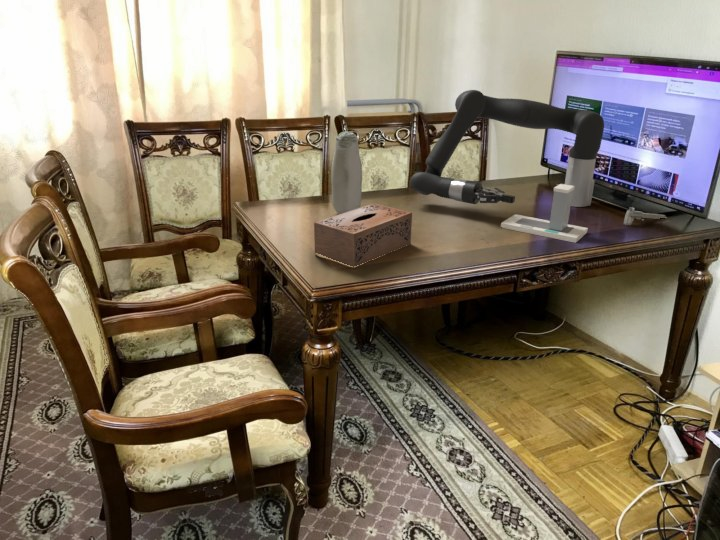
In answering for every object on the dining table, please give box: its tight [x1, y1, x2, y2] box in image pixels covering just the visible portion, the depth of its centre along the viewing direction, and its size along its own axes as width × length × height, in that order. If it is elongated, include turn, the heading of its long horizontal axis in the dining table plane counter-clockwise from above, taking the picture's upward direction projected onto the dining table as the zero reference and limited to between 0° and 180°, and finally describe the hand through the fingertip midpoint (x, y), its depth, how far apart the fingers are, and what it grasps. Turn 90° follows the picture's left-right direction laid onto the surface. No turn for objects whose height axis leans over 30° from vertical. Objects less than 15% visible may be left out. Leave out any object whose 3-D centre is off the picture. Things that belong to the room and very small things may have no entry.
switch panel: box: [500, 213, 589, 244], centre depth 187 cm, size 24×12×2 cm, turn 55°
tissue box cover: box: [313, 202, 413, 267], centre depth 167 cm, size 26×14×10 cm, turn 139°
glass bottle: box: [330, 130, 363, 215], centre depth 194 cm, size 10×10×28 cm
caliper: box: [623, 206, 668, 226], centre depth 196 cm, size 20×1×6 cm, turn 117°
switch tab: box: [549, 183, 575, 231], centre depth 182 cm, size 4×6×13 cm
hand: (514, 199), depth 190 cm, fingers closed
